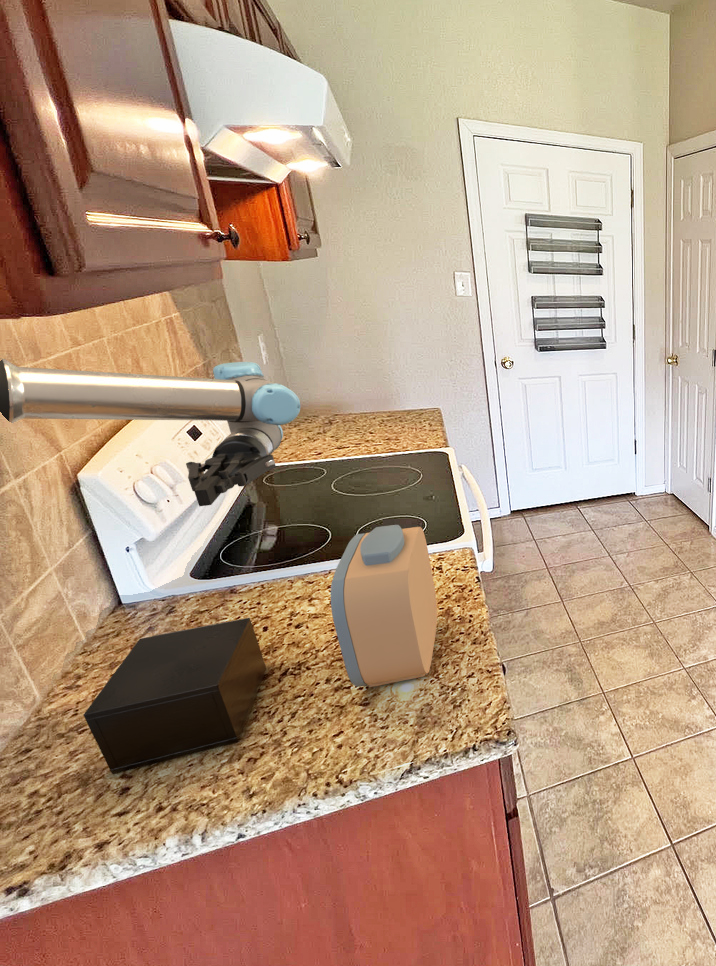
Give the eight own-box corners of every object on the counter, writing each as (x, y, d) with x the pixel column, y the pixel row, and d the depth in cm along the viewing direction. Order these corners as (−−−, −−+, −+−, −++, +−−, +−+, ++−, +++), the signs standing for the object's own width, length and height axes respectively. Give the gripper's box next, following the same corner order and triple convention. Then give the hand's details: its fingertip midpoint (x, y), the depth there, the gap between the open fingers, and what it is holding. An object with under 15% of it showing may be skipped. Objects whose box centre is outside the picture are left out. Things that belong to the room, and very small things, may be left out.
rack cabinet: (161, 692, 84) (139, 638, 80) (266, 669, 89) (250, 617, 85) (112, 775, 71) (82, 714, 67) (238, 742, 76) (217, 684, 72)
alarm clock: (380, 626, 99) (354, 515, 92) (440, 616, 103) (420, 508, 95) (355, 710, 82) (320, 580, 74) (428, 694, 85) (402, 568, 77)
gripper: (288, 466, 114) (259, 512, 95) (206, 475, 109) (157, 525, 89) (279, 431, 112) (246, 470, 92) (194, 438, 106) (140, 481, 87)
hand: (202, 497), depth 91 cm, fingers closed
